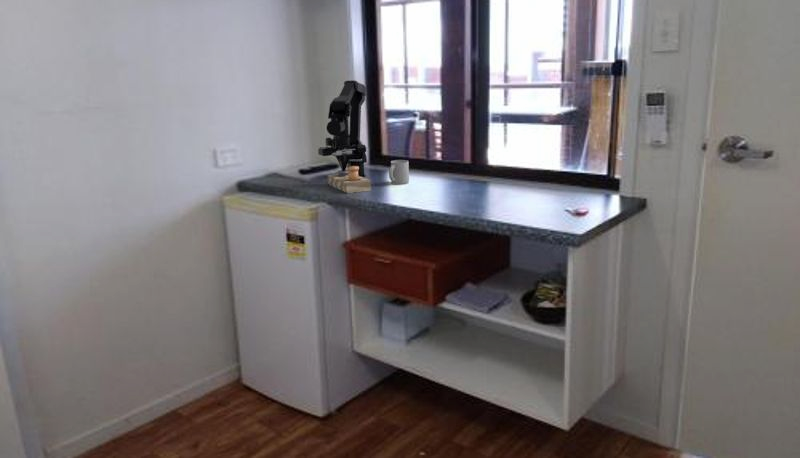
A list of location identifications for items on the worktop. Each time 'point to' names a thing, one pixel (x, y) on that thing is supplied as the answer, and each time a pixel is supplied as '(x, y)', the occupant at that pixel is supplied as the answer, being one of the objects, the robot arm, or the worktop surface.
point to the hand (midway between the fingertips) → (343, 171)
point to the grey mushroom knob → (343, 173)
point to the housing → (349, 183)
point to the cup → (399, 172)
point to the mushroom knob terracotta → (353, 173)
